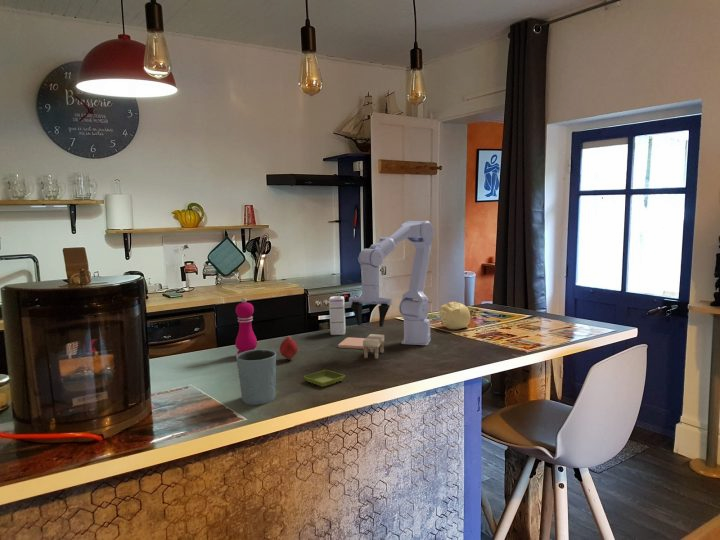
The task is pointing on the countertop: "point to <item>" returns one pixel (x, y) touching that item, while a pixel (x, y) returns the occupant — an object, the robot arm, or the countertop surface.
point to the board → (353, 343)
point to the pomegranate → (288, 348)
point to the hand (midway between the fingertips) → (370, 325)
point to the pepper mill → (245, 327)
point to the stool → (373, 344)
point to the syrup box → (337, 315)
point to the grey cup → (257, 375)
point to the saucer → (324, 378)
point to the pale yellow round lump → (454, 315)
